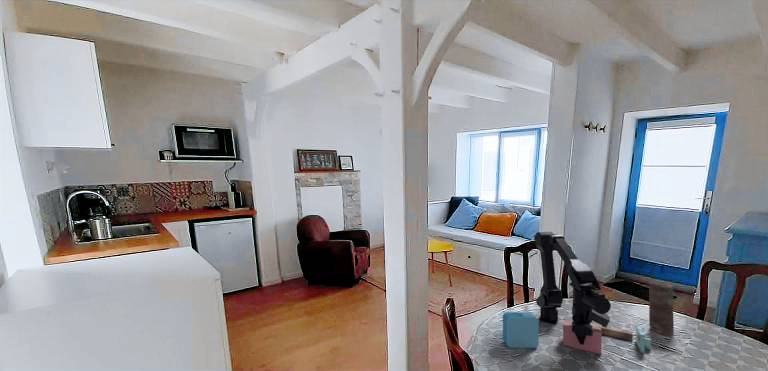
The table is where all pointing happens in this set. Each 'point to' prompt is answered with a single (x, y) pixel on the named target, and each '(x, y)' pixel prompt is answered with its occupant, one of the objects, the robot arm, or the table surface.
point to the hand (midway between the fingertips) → (581, 341)
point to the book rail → (615, 332)
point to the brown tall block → (661, 308)
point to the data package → (520, 330)
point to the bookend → (642, 340)
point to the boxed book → (590, 341)
